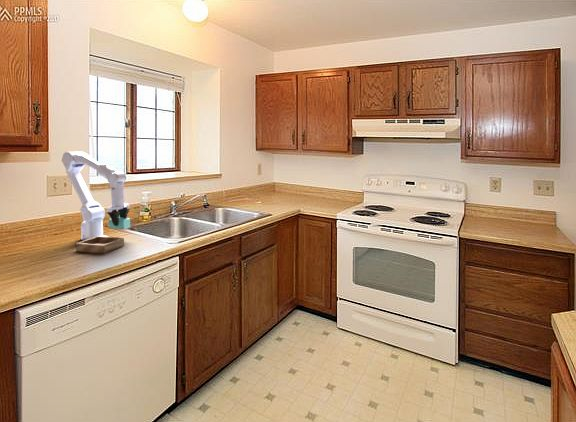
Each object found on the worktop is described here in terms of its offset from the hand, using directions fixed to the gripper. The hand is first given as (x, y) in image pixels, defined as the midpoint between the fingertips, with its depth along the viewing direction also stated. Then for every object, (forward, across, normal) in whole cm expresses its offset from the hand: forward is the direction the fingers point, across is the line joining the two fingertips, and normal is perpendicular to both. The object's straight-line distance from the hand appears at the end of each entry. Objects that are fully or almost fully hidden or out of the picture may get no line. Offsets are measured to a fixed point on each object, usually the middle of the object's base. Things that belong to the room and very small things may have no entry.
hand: (119, 224), depth 187 cm
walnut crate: (+8, -14, 0) cm, 16 cm away
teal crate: (+2, 0, 0) cm, 2 cm away
